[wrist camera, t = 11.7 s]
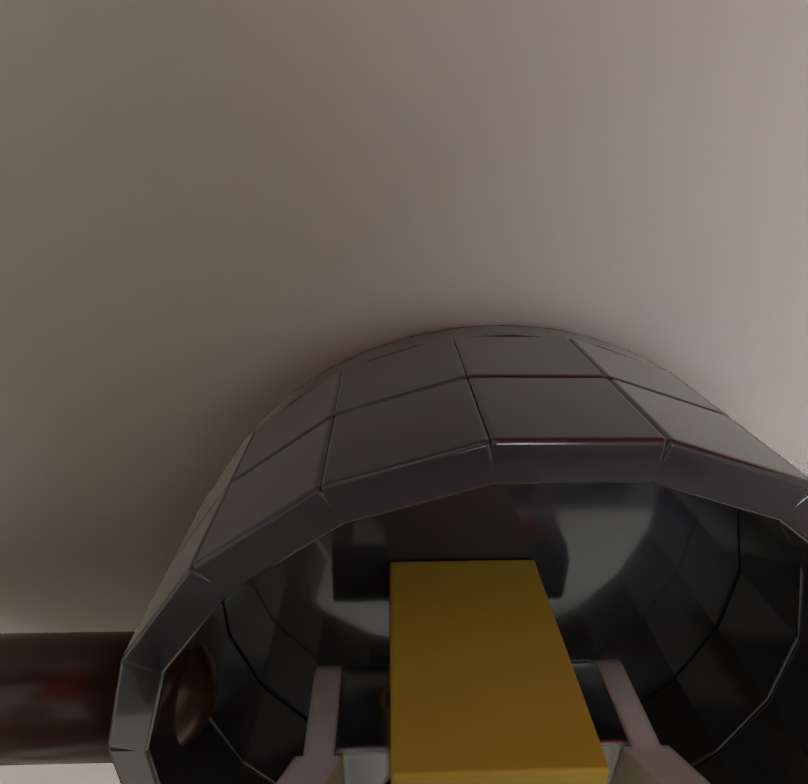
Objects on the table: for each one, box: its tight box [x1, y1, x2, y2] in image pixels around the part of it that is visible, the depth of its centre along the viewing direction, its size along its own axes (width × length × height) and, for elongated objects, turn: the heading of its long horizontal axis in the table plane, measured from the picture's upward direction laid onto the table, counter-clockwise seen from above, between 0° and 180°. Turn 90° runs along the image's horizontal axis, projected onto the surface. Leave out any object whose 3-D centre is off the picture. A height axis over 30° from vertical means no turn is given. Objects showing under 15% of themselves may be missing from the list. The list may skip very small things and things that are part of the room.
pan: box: [108, 325, 808, 784], centre depth 10 cm, size 12×12×4 cm
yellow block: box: [390, 559, 609, 784], centre depth 9 cm, size 3×4×4 cm
